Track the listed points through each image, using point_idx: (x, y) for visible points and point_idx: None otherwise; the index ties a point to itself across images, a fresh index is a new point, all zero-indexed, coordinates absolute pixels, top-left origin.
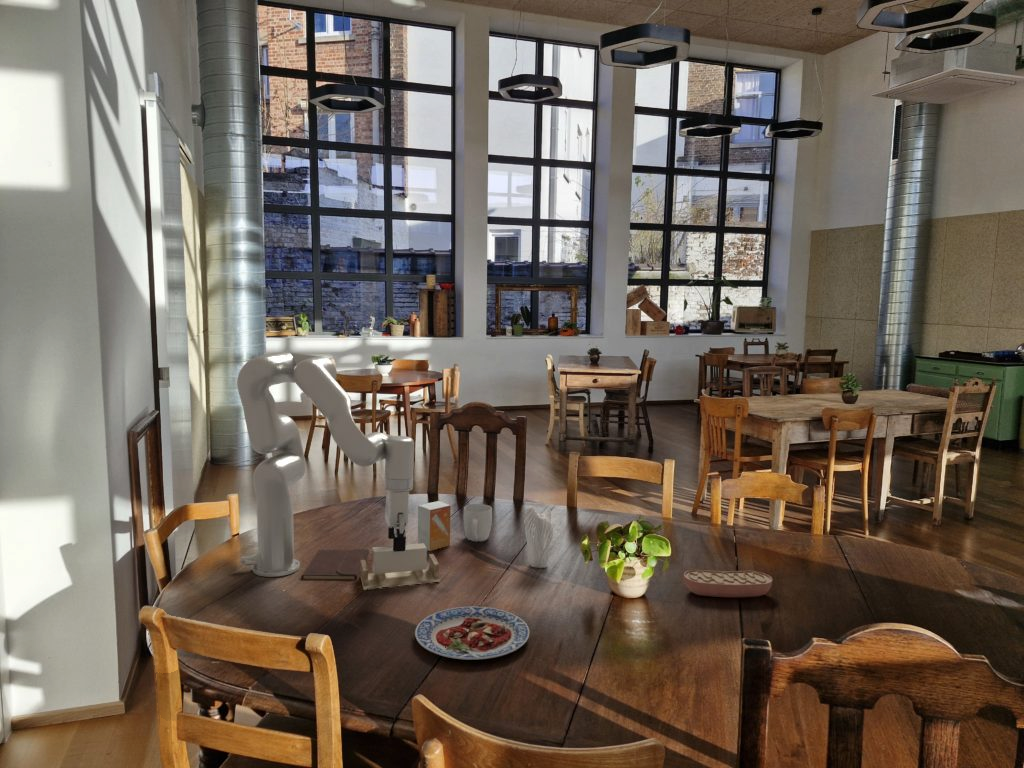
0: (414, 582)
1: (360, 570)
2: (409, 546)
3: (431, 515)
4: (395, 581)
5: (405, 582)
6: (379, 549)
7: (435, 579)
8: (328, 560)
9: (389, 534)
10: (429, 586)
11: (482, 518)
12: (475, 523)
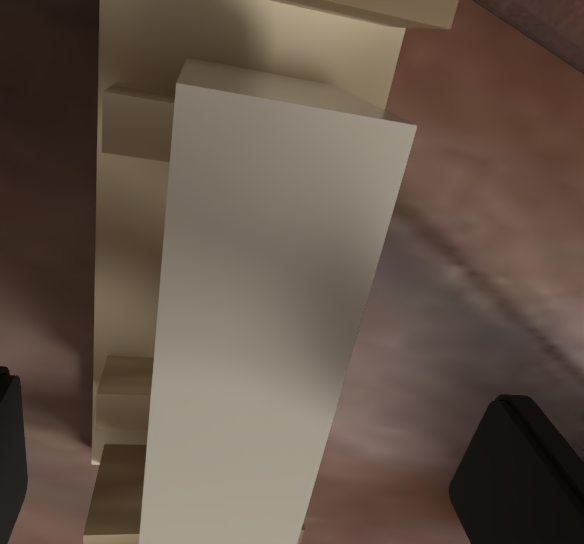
0: (94, 334)
1: (516, 27)
2: (239, 517)
3: None
4: (148, 220)
5: (103, 281)
6: (281, 201)
7: (103, 448)
8: None
9: (523, 445)
10: (49, 395)
11: None
12: None
